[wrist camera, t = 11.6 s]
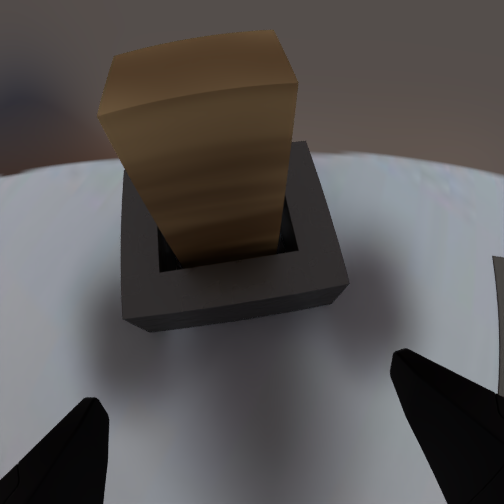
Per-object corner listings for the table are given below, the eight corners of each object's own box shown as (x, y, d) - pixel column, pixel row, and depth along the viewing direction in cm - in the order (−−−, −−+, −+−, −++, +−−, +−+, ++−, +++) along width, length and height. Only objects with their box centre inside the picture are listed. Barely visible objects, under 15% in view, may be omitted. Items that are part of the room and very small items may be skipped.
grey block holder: (331, 304, 18) (349, 283, 14) (149, 332, 17) (122, 319, 14) (298, 180, 21) (305, 140, 18) (143, 204, 21) (124, 169, 17)
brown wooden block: (274, 267, 19) (298, 82, 7) (190, 279, 19) (96, 116, 7) (266, 222, 20) (273, 29, 8) (186, 234, 20) (114, 56, 8)
